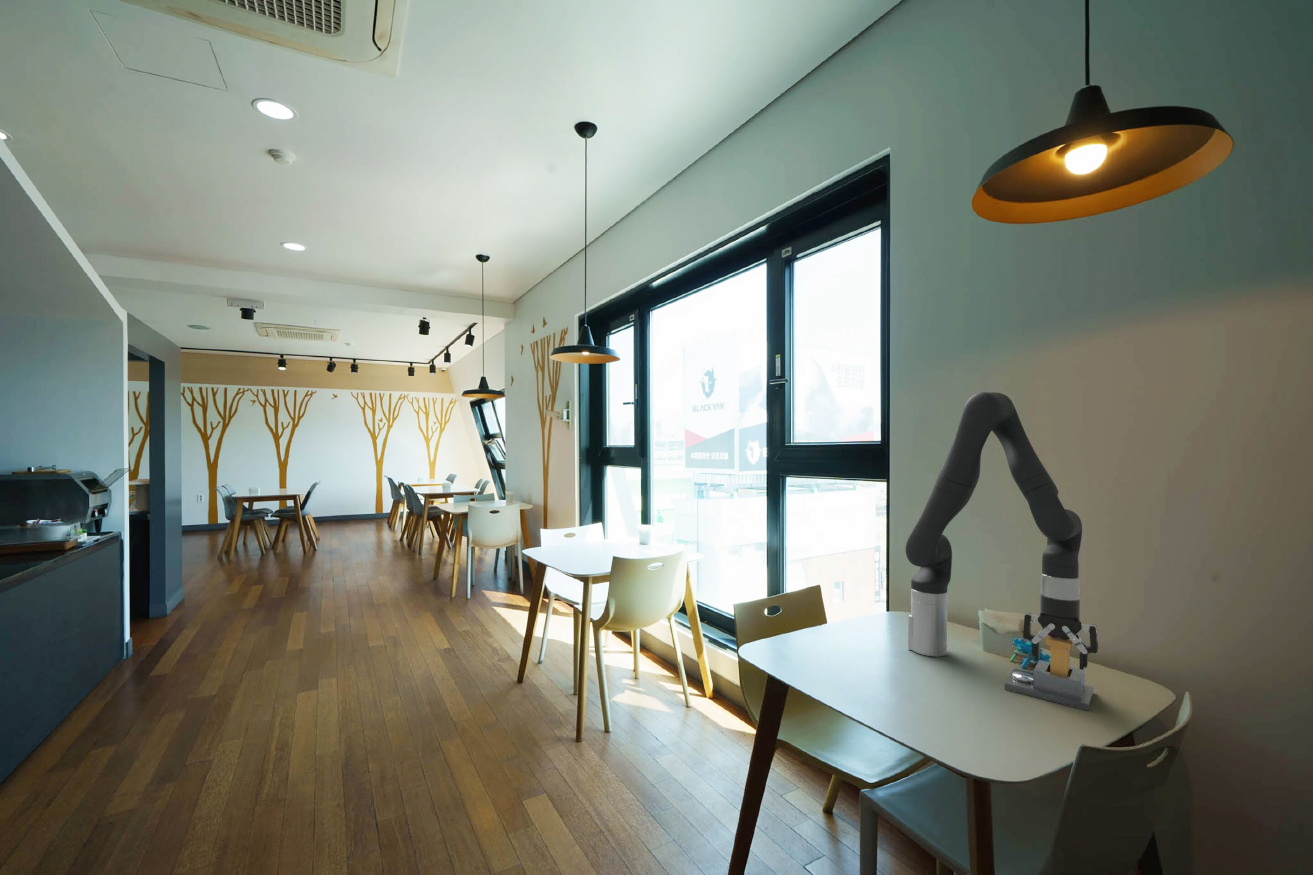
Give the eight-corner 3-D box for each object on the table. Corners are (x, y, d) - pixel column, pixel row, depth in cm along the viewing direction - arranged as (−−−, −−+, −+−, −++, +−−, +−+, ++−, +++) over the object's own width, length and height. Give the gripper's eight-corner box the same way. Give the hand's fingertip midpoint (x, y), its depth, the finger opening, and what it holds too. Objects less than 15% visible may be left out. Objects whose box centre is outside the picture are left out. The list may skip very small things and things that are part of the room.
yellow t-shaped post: (1046, 687, 133) (1046, 639, 133) (1049, 680, 137) (1050, 632, 137) (1070, 693, 130) (1070, 644, 130) (1073, 685, 134) (1073, 637, 134)
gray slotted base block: (1004, 689, 135) (1004, 666, 135) (1014, 674, 144) (1014, 652, 144) (1088, 710, 124) (1089, 685, 125) (1093, 693, 133) (1093, 669, 134)
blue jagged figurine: (1064, 667, 144) (1037, 640, 144) (1052, 685, 143) (1024, 658, 143) (1030, 657, 155) (1004, 631, 155) (1018, 674, 154) (992, 648, 154)
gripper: (1021, 591, 135) (1020, 660, 135) (1096, 603, 126) (1096, 677, 125) (1026, 586, 141) (1026, 651, 141) (1099, 597, 131) (1098, 667, 131)
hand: (1059, 663), depth 133 cm, fingers open, 8 cm apart
